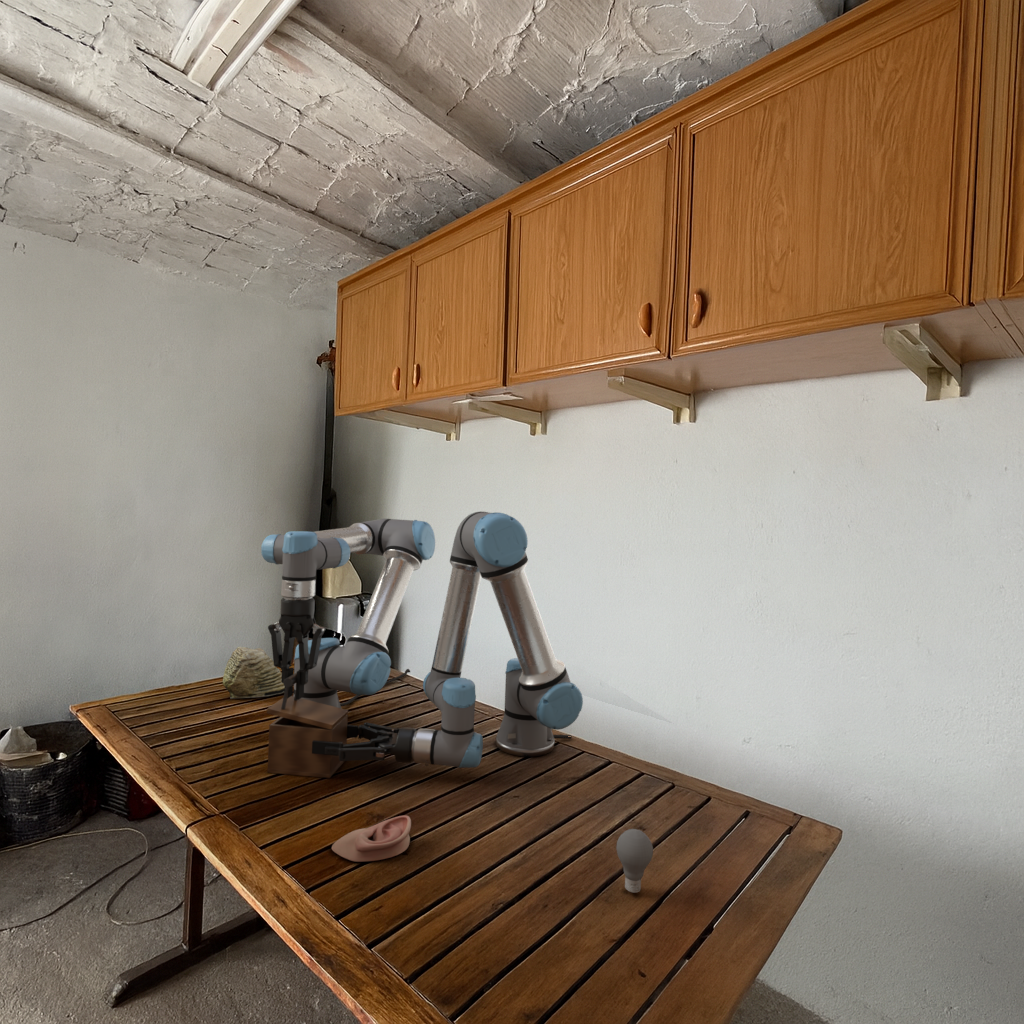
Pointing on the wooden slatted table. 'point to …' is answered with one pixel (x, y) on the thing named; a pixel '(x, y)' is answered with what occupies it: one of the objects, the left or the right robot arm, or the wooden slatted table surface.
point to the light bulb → (634, 857)
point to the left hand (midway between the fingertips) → (293, 697)
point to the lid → (306, 709)
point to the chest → (303, 748)
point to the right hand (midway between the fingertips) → (322, 737)
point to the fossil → (252, 674)
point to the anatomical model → (375, 841)
